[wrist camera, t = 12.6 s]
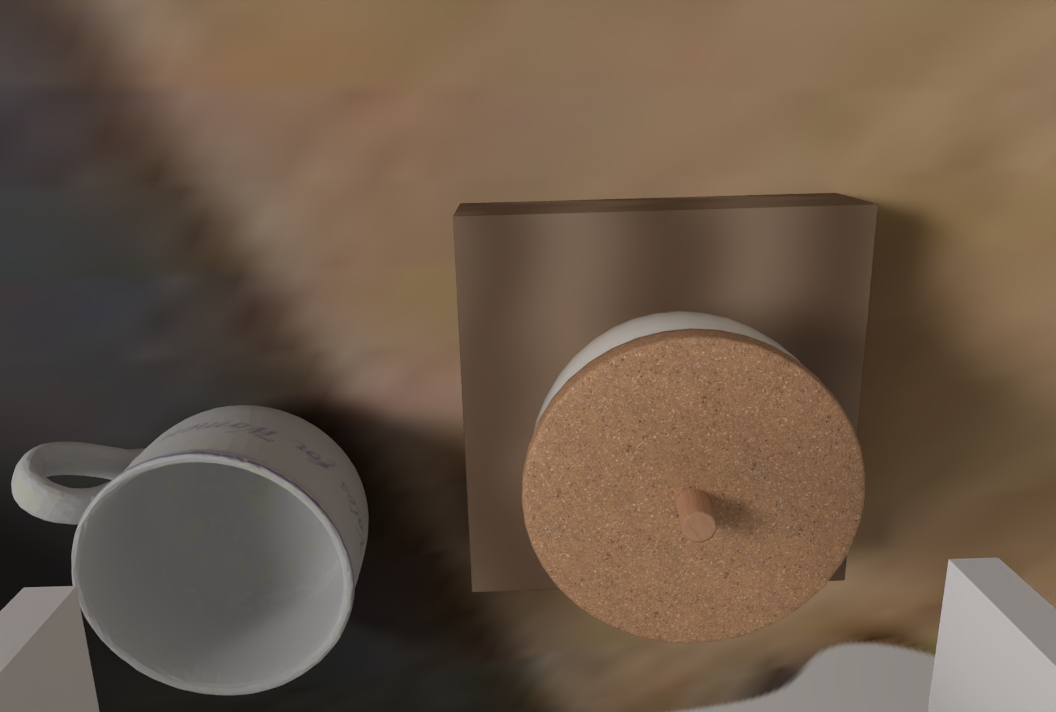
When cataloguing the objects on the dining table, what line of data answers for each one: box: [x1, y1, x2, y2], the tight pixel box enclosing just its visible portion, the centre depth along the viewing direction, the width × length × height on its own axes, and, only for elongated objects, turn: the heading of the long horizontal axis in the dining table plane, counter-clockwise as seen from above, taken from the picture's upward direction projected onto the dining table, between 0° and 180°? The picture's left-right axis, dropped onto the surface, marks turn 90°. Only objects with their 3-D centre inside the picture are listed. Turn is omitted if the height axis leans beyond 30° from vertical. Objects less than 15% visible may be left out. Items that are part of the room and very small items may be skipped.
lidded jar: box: [522, 311, 866, 643], centre depth 30 cm, size 11×11×9 cm
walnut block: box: [453, 193, 878, 592], centre depth 37 cm, size 16×16×5 cm
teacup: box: [11, 405, 369, 695], centre depth 36 cm, size 14×11×8 cm
